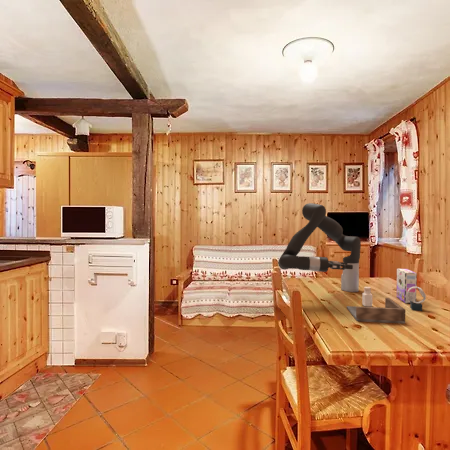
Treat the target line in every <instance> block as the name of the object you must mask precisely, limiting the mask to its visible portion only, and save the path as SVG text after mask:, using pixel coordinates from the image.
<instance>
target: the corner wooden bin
mask: <svg viewBox="0 0 450 450" xmlns="http://www.w3.org/2000/svg"><path fill="white" fill-rule="evenodd" d="M346 309H347V311H348V312H349V313H350V314H351V315H352V316H353V318H354V319H355V320H356V322H368V323H369V322H370V323H388V324H406V309H405V308H404V307H403V306H402V305H400V304H398V303H397V302H395V301H394V300H392V299H391V298H390V297H385V303H384V307H381V306H380V307H378V306H375V307H374V306H371V307H366V306H356V305H354V306H353V305H352V306H351V305H350V306H349V305H346Z"/></svg>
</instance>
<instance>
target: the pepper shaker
mask: <svg viewBox="0 0 450 450" xmlns="http://www.w3.org/2000/svg"><path fill="white" fill-rule="evenodd" d="M363 291H364V292H362V293H361V296H362V298H361V299H362V301H361V304H362V306H363V307H373V294H372V293H371V292H372V287H371V286H364V287H363Z"/></svg>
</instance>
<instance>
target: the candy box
mask: <svg viewBox="0 0 450 450" xmlns="http://www.w3.org/2000/svg"><path fill="white" fill-rule="evenodd" d="M417 276H418V273H417V272H415V271H413V270H410V269H409V268H396V298H397V299H399V300H400V301H401V302H402V303H404V304H410V301H411V300H410V299H409V297H408V295H407V294H408V293H407V292H408V289H409V288H411V287H414V286H416V287H418V285H417V284H418V283H417V282H418V280H417V279H418V277H417ZM409 295H410V297H411V299H412V301H415V302H417V288H413V289H411V290H410V291H409Z"/></svg>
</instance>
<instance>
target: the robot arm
mask: <svg viewBox="0 0 450 450" xmlns="http://www.w3.org/2000/svg"><path fill="white" fill-rule="evenodd" d="M301 210H302V211H301V213H302V216H303V218H304V219H305V220H307V221H308V222H307V224H306V225H304V227H302V228H301V229H299V230H298V231H297V232H295V234H294V235H293V236H292V237H291V238H290V241H289V242H288V244H287V245H286V248H285V249H284V251H283V253H282V254H281V256H280V257H279V259H278V261H277V264H278V267H279V268H280V269H281V270H289V269H298V270H301V271H311V272H322V273H327V272H328V270H329V269H331V270H342V274H341V277H340V279H341V280H340V283H341V284H340V285H341V286H340V289H341V290H342V291H344V292H348V293H350V292H352V293H358V292H359V291H360V290H359V289H360V288H359V286H360V258H361V249H362V248H361V247H362V245H361V244H362V243H361V242H362V241H361V238H360V237H359V236H353V235H352V236H351V235H350V236H348V235H345V234H343V231H344V229H343V227H342V225H340V223H339V222H337V221H336V220H335V219H333V218H331V217H329V216H327V215H326V214H327V209H326V207H325V205H323V204H318V203H312V202H311V203H310V202H309V203H306V204H304V205H303V207H302V209H301ZM317 228H318V229H319V230H321V231H322V232H323V233H324V234H325V235H326V236H327V237H329V238H330V239H331V240H332V241H334V242H335V243H336V245H338V246H339V249H341V250H342V251H344V252H350V254H349V255H348V256H343V258H342V261H337V260H329V258H328V257H327V256H304V255H303V256H301V255H298V254H300V252H301V250H302V249H303V247H304V245H305V243H306V242H307V240H308V239H309V238H310V236H311V235H312V234H313V233H314V231H315V230H316V229H317Z"/></svg>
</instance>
